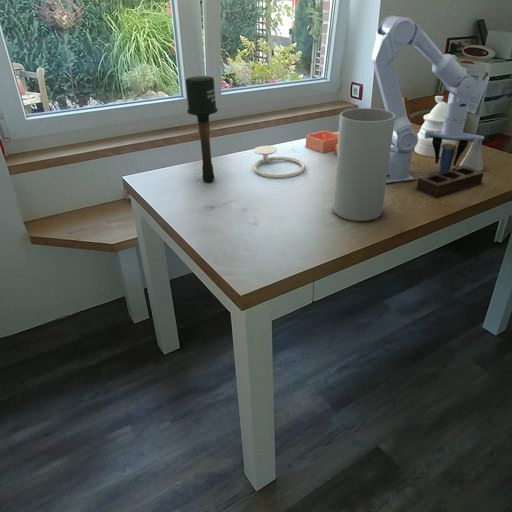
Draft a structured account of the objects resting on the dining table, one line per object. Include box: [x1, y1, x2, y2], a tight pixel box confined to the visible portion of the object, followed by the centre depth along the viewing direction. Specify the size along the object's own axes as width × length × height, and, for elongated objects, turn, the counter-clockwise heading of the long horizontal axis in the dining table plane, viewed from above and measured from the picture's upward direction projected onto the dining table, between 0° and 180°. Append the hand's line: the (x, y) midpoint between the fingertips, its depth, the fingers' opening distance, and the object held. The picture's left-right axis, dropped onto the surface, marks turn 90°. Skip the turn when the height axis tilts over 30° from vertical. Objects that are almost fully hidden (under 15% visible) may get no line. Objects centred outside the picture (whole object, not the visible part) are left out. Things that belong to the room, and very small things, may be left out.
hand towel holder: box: [252, 145, 306, 179], centre depth 143 cm, size 17×4×21 cm
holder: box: [416, 165, 485, 199], centre depth 126 cm, size 7×18×4 cm, turn 119°
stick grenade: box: [184, 75, 218, 183], centre depth 128 cm, size 8×9×30 cm
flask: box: [458, 135, 485, 172], centre depth 136 cm, size 7×7×10 cm
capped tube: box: [437, 144, 457, 172], centre depth 133 cm, size 4×4×9 cm
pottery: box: [305, 130, 339, 156], centre depth 155 cm, size 18×10×10 cm, turn 37°
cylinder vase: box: [333, 107, 395, 222], centre depth 108 cm, size 12×12×25 cm
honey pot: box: [413, 95, 457, 158], centre depth 149 cm, size 13×13×18 cm
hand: (445, 163), depth 133 cm, fingers open, 4 cm apart
